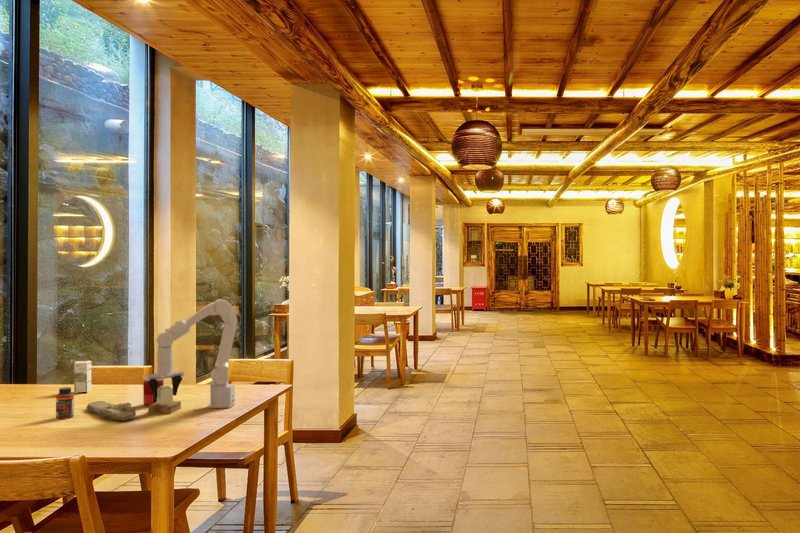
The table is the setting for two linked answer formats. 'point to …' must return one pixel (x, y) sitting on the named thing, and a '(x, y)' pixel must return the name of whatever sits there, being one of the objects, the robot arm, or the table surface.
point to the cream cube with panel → (164, 395)
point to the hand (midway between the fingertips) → (165, 396)
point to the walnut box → (164, 408)
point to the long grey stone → (112, 410)
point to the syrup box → (82, 376)
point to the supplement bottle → (64, 403)
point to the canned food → (150, 392)
